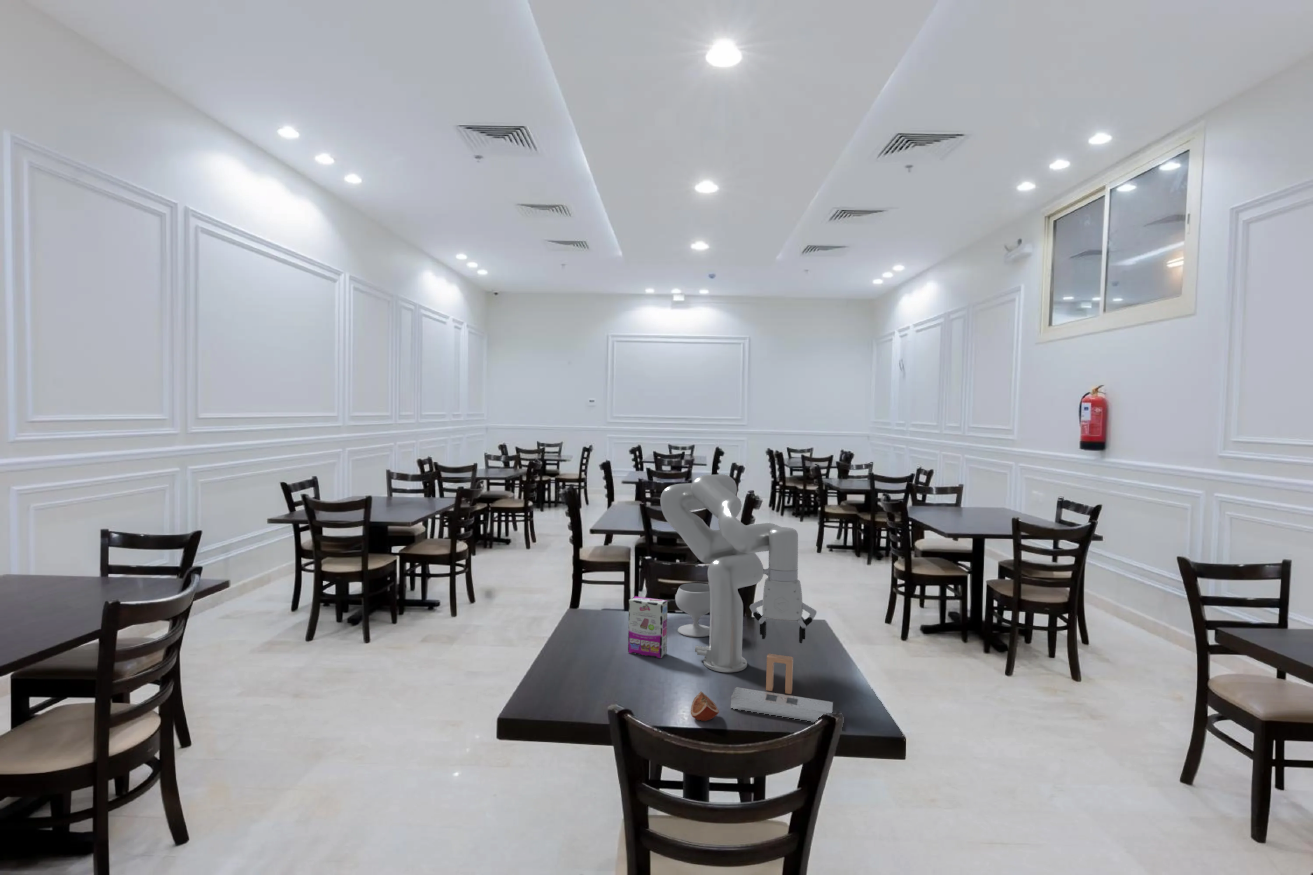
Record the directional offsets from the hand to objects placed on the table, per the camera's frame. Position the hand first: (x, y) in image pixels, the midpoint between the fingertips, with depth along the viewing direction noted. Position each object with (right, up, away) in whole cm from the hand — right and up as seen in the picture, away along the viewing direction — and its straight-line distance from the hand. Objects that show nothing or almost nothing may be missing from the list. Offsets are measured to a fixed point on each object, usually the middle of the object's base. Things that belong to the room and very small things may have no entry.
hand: (782, 639), depth 164 cm
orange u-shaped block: (-1, -14, +1) cm, 14 cm away
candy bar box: (-36, -12, +25) cm, 46 cm away
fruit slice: (-22, -14, -15) cm, 30 cm away
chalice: (-20, -12, +45) cm, 51 cm away
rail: (-2, -14, -11) cm, 18 cm away
